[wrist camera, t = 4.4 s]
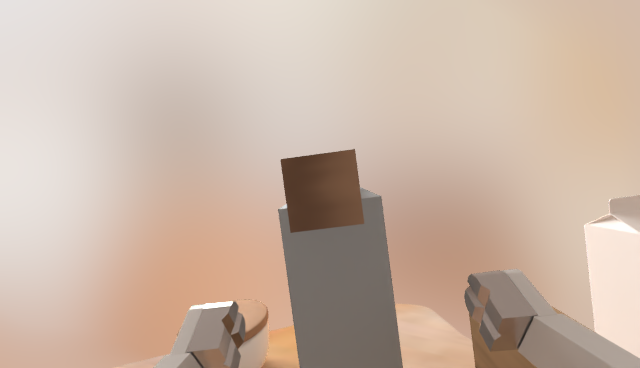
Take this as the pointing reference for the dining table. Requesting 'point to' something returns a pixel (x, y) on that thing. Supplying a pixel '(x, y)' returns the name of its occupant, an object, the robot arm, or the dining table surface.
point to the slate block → (343, 292)
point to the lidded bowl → (253, 333)
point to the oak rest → (497, 352)
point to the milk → (616, 272)
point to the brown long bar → (322, 191)
